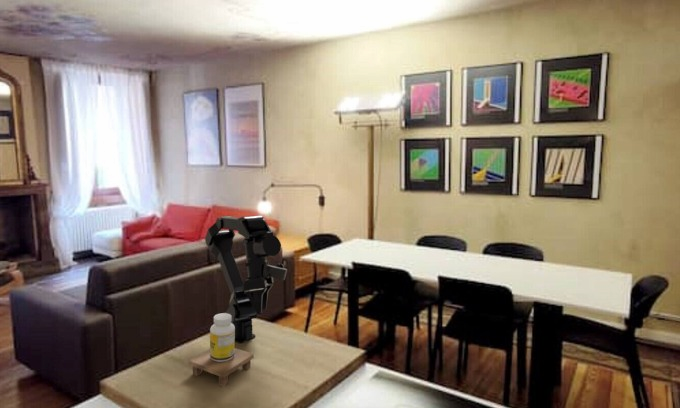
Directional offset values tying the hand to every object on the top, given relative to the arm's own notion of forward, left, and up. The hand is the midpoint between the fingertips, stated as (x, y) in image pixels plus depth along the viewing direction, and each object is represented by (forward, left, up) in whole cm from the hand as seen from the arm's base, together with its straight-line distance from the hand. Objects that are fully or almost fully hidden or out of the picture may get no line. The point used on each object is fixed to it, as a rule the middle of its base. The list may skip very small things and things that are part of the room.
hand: (262, 311), depth 130 cm
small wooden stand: (-1, -13, -13) cm, 19 cm away
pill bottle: (-1, -13, -9) cm, 16 cm away
